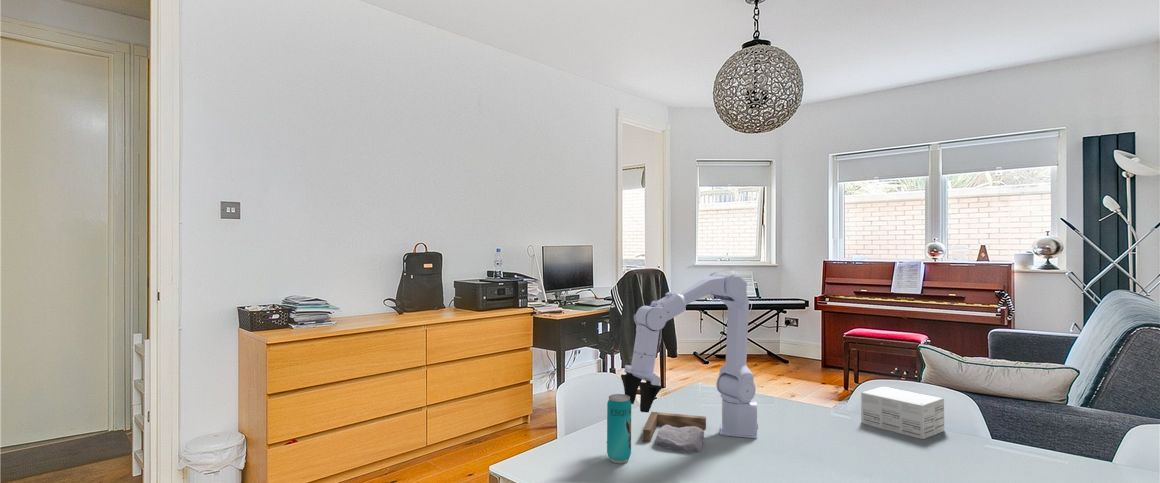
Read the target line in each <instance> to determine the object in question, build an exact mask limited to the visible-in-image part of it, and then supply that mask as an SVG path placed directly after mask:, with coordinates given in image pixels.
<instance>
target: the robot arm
mask: <svg viewBox="0 0 1160 483" xmlns="http://www.w3.org/2000/svg"><path fill="white" fill-rule="evenodd" d="M747 288H748V282H747V281H746V280H745V279H744V277H742V276H741V275H740V274H737V273H734V274H733V273H718V272H712V273H710V274H708V275H705V276H703V277H702V279H701V280H699V281H697V282H696V283H694V284H692V285H691V286H689V287H688V288H686V289H684V290H683V291H682V292H679V293H677V292H671V291H667V292H666V293H665V294H664V295H665V296H663V297H662V298H660V299H658V300H652V301H651V302H650V305H642V306H640V307H639V308H638V309H637V310H636V313H635V314H633V321H634V323H635V325H636V326H635V327H636V328H635V332H636V333H635V338H634V346H633V354H632V360H631V364H630V365H628V364H625V365H624V371H623V373H625V374H623V373H622V374H621V375H620V379H621V381H622V383H623V384H622V385H623V391H624V395H628V396H630V401H631V405H634V404H635V400H636V398H637V393H638V389H639V394H640V395H639V396H640V399H639V410H640V411H639V412H641V413H649V412H650V410H651V408H652V405H653V402H654V401H655V398H656V397H657V395H658V393H659V392H660V391H661V390H662V389H663V388H662V385H661V384H660V383H661V377H660V376H658V375H657V374H656V373H655V364H656V357H657V350H658V343H659V336H660V330H662V329H664V327H665V326H666V323H667V322H668V321H670V320H671V319H673V318H675V317H678V315H681V314H683V313H684V312H685V311H686V307H687V305H690V304H691V303H693V302H696V301H697V300H701V299H702V298H704V297H706V296H708V295H711V296H713V297H715V298H717V299H719V300H720V301H721V302H722V303H723V304H724V305H726V307H727V324H726V325H727V326H726V327H727V328H726V347H725V350H726V351H725V364H723V365H722V366H721V367H719V374H718V376H717V379H716V383H715V384H716V385H715V386H716V390H717V392H719V393H720V398H721V424H720V436H727V437H737V438H738V437H739V438H748V439H757V438H758V430H759V423H758V405H757V404H758V403H757V402H758V401H754V400H753V399H754V397H755V395H756V390H757V388H756V385H755V382H754V373H753V372H752V371H751V370H750V368H749V367H748V366H747V356H748V337H749V336H748V335H749V333H748V331H749V310H750V309H749V308H750V306H749V305H750V301H749V297H748V294H747V291H748V290H747ZM643 381H644V382H643Z"/></svg>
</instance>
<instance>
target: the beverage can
mask: <svg viewBox="0 0 1160 483" xmlns="http://www.w3.org/2000/svg"><path fill="white" fill-rule="evenodd" d="M606 410H607V412H606V413H607V414H606V416H607V417H606V419H607V420H606V421H607V422H606V439H607V440H606V454H607V456H608V459H609V460H610V462H611V463H615V464H624V463H627V462H628V461H629V460H630V458H631V454H632V404H631V401H630V396H628V395H625V393H624V394H622V393H614V394H610V395H608V400H607V404H606Z"/></svg>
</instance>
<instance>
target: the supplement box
mask: <svg viewBox="0 0 1160 483" xmlns="http://www.w3.org/2000/svg"><path fill="white" fill-rule="evenodd" d="M860 398H861V399H860V401H861V402H860V404H861V405H860V406H861V409H860V410H861V414H860V415H861V417H860V419H861V421H860V423H862V424H865V425H868V426H871V427H875V428H879V429H883V430H887V431H890V432H893V433H894V432H895V433H897V434H901V435H904V436H908V437H912V438H916V439H919V440H924V439H925V440H926V439H927V438H930V437H932V436H935V435H937V434H940V433H942V432H945V399H944V398H942V397H938V396H933V395H928V394H922V393H918V392H913V391H908V390H903V389H900V388H899V389H898V388H892V387H888V386H880V387H876V388H872V389H868V390H865V391H862V392H861V393H860Z"/></svg>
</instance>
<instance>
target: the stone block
mask: <svg viewBox="0 0 1160 483" xmlns="http://www.w3.org/2000/svg"><path fill="white" fill-rule="evenodd" d="M704 439H705V432H704V429H700V428H699V427H695V426H690V427H689V426H685V427H674V426H670V425H661V427H659V429H658V432H657V433H656V438H655V444H656V446H659V447H664V448H667V449H672V450H674V451H679V452H684V453H700V452H702V450H703V446H704V441H705V440H704Z"/></svg>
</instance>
